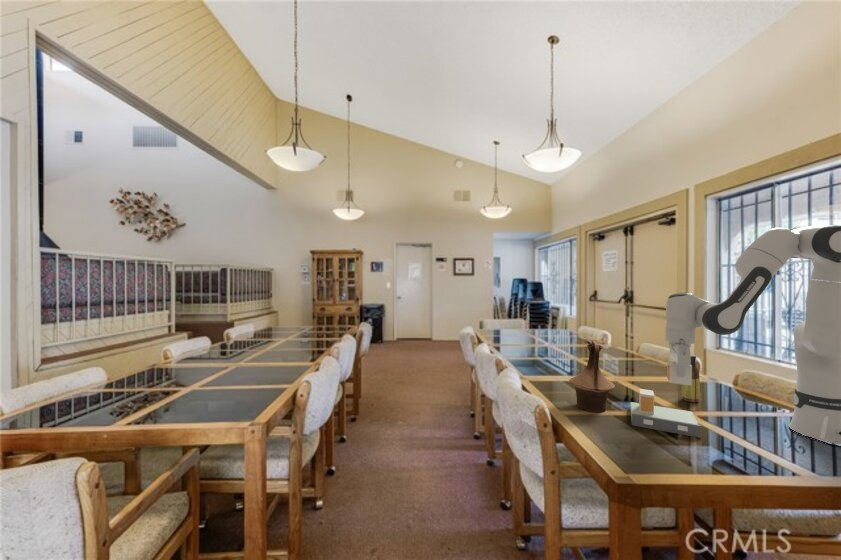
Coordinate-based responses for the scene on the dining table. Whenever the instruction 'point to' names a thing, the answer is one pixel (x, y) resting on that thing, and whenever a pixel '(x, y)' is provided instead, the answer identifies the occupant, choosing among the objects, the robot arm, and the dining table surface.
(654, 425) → the shelf
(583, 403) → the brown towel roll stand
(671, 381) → the turned carton
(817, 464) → the dining table surface
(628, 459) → the dining table surface
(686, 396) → the sauce bottle
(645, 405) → the faced carton
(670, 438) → the dining table surface
